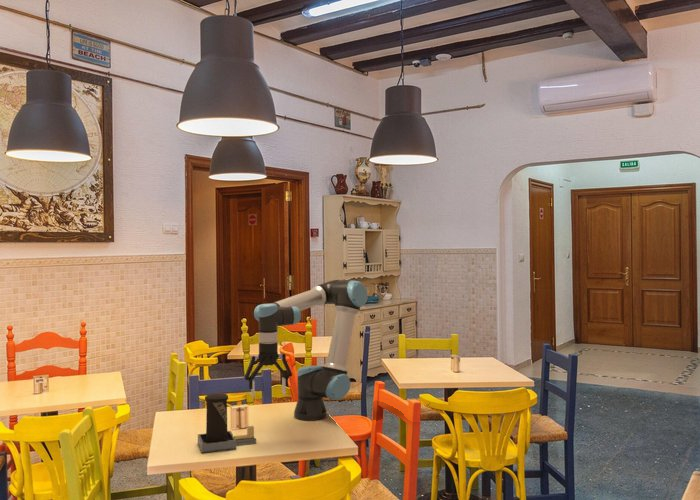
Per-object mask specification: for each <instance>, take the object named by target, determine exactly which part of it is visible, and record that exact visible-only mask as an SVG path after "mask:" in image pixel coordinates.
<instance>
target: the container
mask: <svg viewBox="0 0 700 500" xmlns="http://www.w3.org/2000/svg"><path fill="white" fill-rule="evenodd" d="M228 399H229V395H228V394H227V393H223V392H213V393H208V394H206V396H204V400H205V401H206V426H205V428H206V432H205V434H206V443H211V442H220V441H228V432H227V431H228Z"/></svg>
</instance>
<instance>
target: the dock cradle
mask: <svg viewBox="0 0 700 500" xmlns="http://www.w3.org/2000/svg"><path fill="white" fill-rule="evenodd" d="M227 432H228V441H220V442H211V443H206V433H201V434H200V433H199V434H197V445H198V447H199V449H200V450H199V451H200V453H201V454H209V453H216V452H217V453H218V452H225V451H233V450H237V446H236V439H235V437H234V436H233V433H232V431H231V430H227Z"/></svg>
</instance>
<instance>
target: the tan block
mask: <svg viewBox="0 0 700 500" xmlns="http://www.w3.org/2000/svg"><path fill="white" fill-rule="evenodd" d="M233 437H235V439H236V440H243V439H252V438H255V426H254V425H247V426H246V434H240V435H234V436H233Z"/></svg>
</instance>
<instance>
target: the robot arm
mask: <svg viewBox="0 0 700 500" xmlns="http://www.w3.org/2000/svg"><path fill="white" fill-rule="evenodd" d="M368 293H369V292H368V289H367V288H366V285H365V284H364V283H363V282H361V281H360V280H359V281H358V280H354V279H353V280H348V279H345V280H344V279H334V280H333V279H332V280H329V281H326V282H323V283H320V284H317V285H315V286H313V287H312V289H311V290H306V291H303V292H301V293H297V294H294V295H292V296H289V297H287V298H283V299H280V300H278V301H274V302H272V303H271V302H270V303H261V304H258V305H257V306H256V307H255V308H254V311H253V316H254V319H255V320H256V321H257V322H258V342H259V343H258V355H254V354H252V355H250V362H249V364H248V367H247V369H246V372H245V373H244V375H243V378H244V380H245V381H248V388H249V390H251V391H250V392H251V397H252V398H255V397H256V396H255V395H256V394H255V391H256V390H255V384H256V383H255V380H254V379H255V377H256V376H257V375H258V373H259V372H260V371H261V369H262V368H263V367H264V366H265V367H267V366H273V365H274V366H275V367H276V368H277V370H278V371H279V372H280V374H281V375H282V376H283V377H281V394H282V395H285V396H286V387H288V386H289V385H288V384H289V378H290V377H293V372H292V370H291V368H290V366H289V364H288V361H287V359H286V358H287V357H286V354H285V353H284V352H282V353H278V352H279V351H278V346H279V345H278V341H279V340H278V327H284V326H293V325H296V324H298V323H300V321H301V320H302V319H301V318H302V311H304V310H308V309H310V308H312V307H315V306H319V307H320V306H321V307H322V306H324V305H334V308H335V310H336V315H335V321H334V325H333V329H332V334H331V335H332V336H331V338H330V339H331V340H330V345H329V350H328V352H327V353H328V354H327V358H326V363H324V364H323V365H318V364H317V365H308V366H307V365H306V366H303V367H300V368H298V370H297V400H296V401H297V402H296V405H295V408H294V412H293V415H294V417H293V418H295V419H297V420H301V421H318V420H323V419H325V418H327V417H328V412H327V407H326V404H325V401H324V398H325V399H328V400H334V401H337V400H343V398H344V397H345V396H347V394H348V393H349V391H350V389H351V379H350V377H349V376H348V369H347V368H346V364H347V359H348V354H349V348H350V343H351V339H352V333H353V327H354V323H355V319H356V315H357V314H359V313H360V310H361V307H364V306H365V304H366V303H367V302H368V299H369V298H368V297H369V296H368ZM278 359H280V360H281V362H282V364H283V366H284V368H285V370H286V372H285V370H284V369H283V368H282V367H281V365H280V364H279V363H278ZM257 360H259V362H258V364H257V365H256V367H255V368H254V365H255V363H256V361H257ZM253 368H254V370H253ZM252 370H253V371H252Z"/></svg>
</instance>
